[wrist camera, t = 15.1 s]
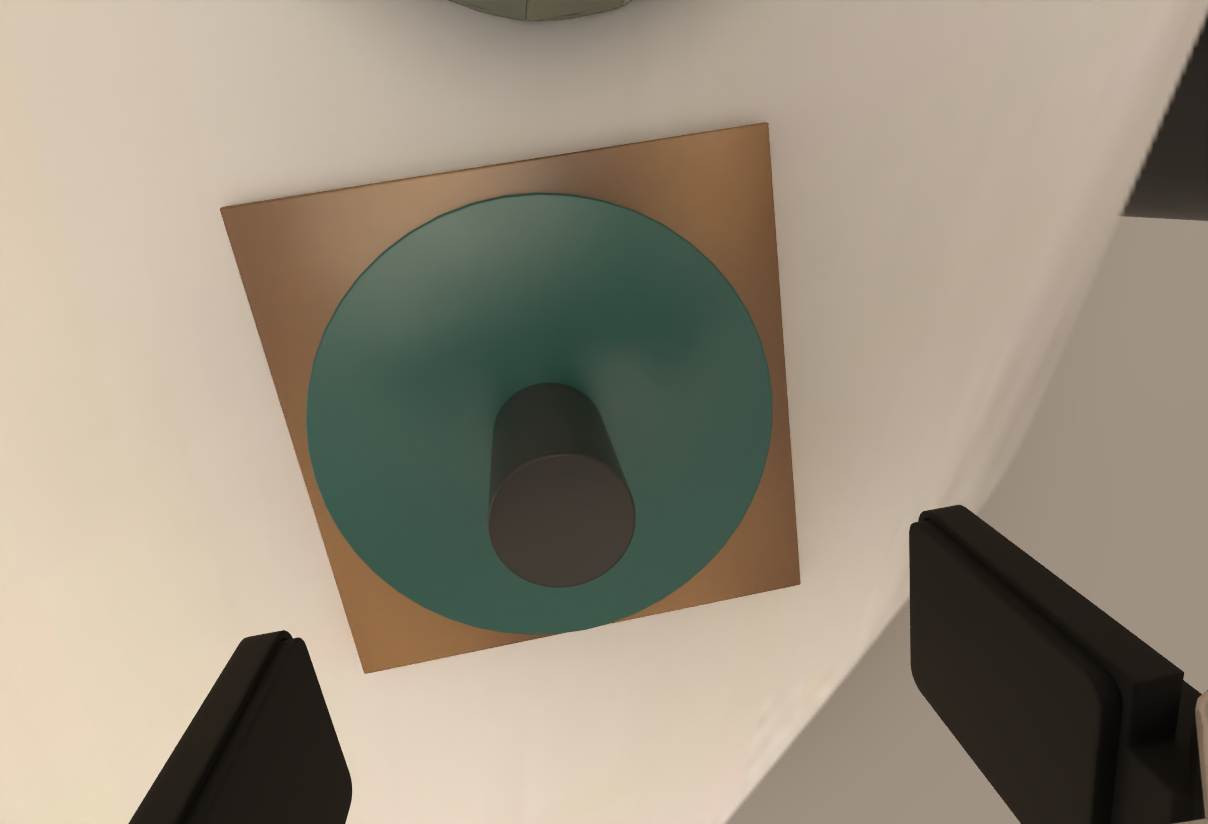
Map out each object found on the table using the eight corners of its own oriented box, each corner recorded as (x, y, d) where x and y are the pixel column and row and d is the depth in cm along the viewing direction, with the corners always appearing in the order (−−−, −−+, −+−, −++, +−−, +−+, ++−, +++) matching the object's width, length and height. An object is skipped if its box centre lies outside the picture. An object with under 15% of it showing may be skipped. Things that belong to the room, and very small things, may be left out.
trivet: (762, 123, 20) (768, 121, 20) (795, 577, 25) (801, 584, 25) (225, 207, 19) (218, 207, 19) (367, 665, 24) (363, 675, 24)
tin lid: (740, 156, 20) (849, 145, 14) (775, 569, 24) (870, 709, 18) (255, 234, 19) (127, 260, 13) (380, 650, 23) (331, 827, 17)
